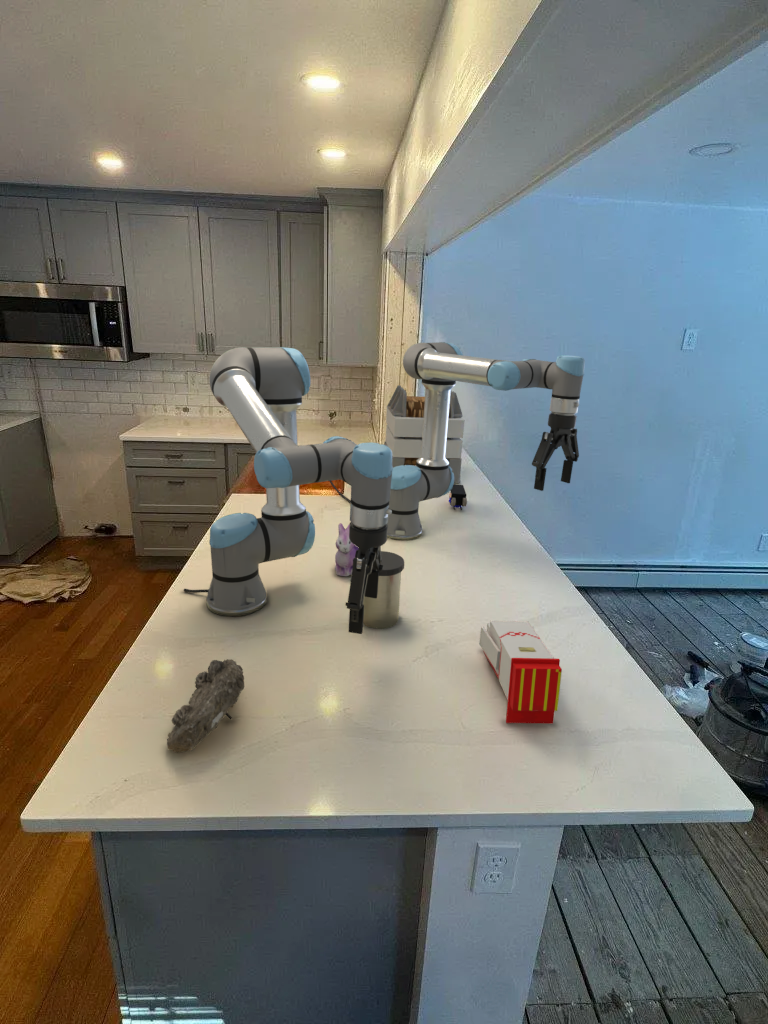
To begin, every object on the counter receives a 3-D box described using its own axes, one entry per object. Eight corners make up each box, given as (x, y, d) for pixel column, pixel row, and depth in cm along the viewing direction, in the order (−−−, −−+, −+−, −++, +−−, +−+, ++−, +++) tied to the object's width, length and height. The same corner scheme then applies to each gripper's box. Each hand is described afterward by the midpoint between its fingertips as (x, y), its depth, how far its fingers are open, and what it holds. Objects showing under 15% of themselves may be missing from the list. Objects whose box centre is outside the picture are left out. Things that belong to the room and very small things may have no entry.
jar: (378, 605, 152) (381, 550, 146) (406, 619, 145) (409, 562, 140) (351, 617, 145) (353, 560, 139) (379, 633, 138) (381, 574, 133)
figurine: (340, 580, 164) (341, 532, 159) (327, 566, 172) (327, 519, 167) (369, 574, 168) (371, 527, 163) (355, 561, 177) (356, 515, 171)
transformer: (382, 463, 289) (386, 382, 275) (445, 464, 293) (451, 384, 279) (390, 482, 257) (394, 392, 243) (460, 483, 261) (468, 394, 247)
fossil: (192, 660, 117) (244, 628, 112) (224, 691, 120) (276, 661, 115) (142, 746, 98) (202, 712, 93) (182, 779, 101) (242, 748, 96)
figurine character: (467, 515, 225) (461, 499, 238) (469, 498, 221) (463, 482, 235) (450, 514, 224) (445, 498, 238) (452, 497, 221) (447, 482, 234)
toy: (526, 605, 135) (570, 665, 105) (521, 658, 137) (563, 730, 108) (475, 604, 134) (506, 664, 105) (472, 657, 137) (500, 729, 108)
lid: (381, 553, 147) (381, 547, 147) (413, 567, 140) (413, 561, 140) (349, 565, 140) (349, 559, 139) (381, 580, 132) (382, 574, 132)
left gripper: (373, 554, 99) (367, 652, 108) (399, 501, 121) (392, 586, 130) (332, 548, 100) (329, 645, 109) (365, 496, 123) (360, 581, 131)
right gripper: (548, 419, 148) (537, 496, 155) (598, 411, 163) (586, 482, 171) (525, 414, 153) (515, 489, 160) (575, 407, 169) (564, 476, 176)
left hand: (363, 613), depth 119 cm, fingers open, 13 cm apart
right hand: (552, 485), depth 166 cm, fingers open, 13 cm apart
